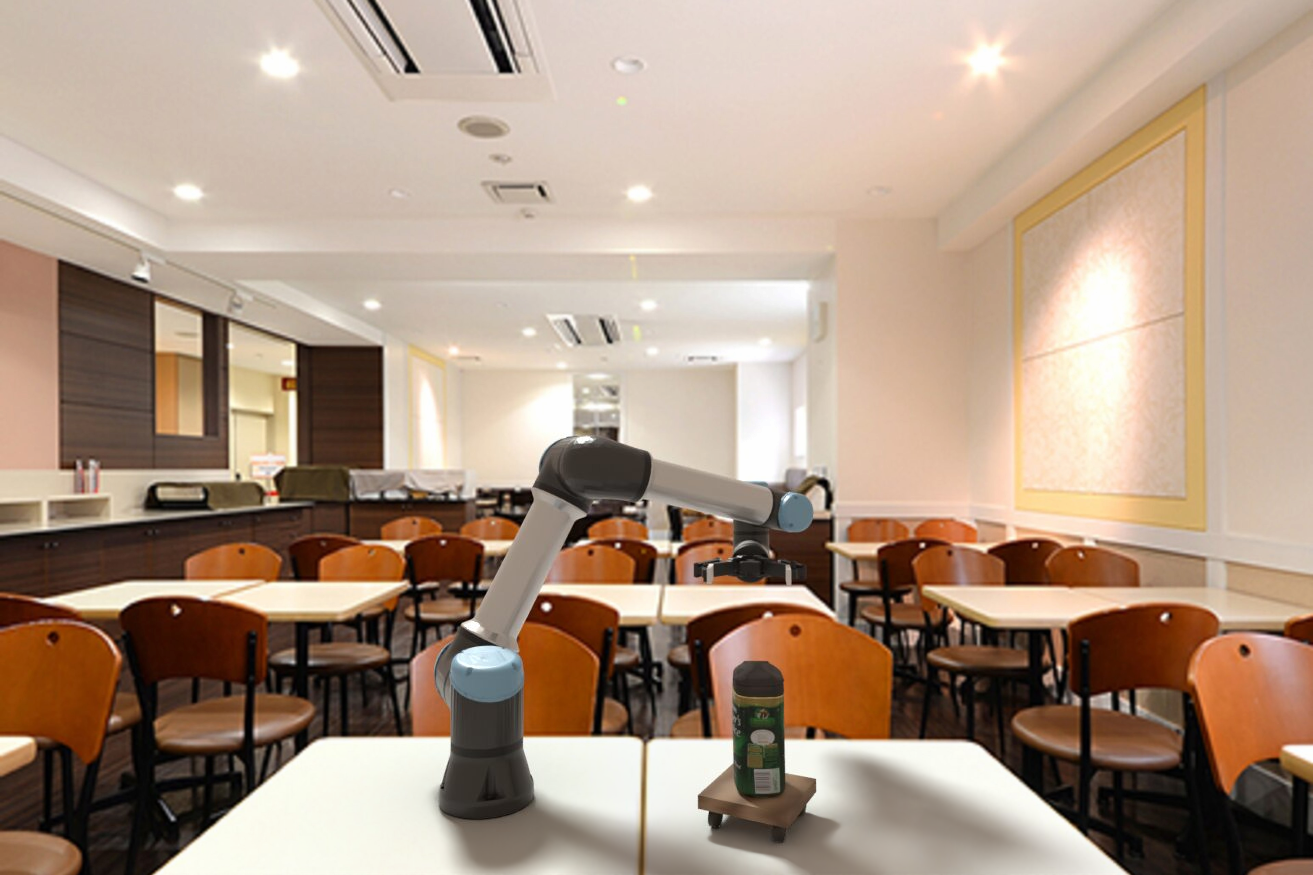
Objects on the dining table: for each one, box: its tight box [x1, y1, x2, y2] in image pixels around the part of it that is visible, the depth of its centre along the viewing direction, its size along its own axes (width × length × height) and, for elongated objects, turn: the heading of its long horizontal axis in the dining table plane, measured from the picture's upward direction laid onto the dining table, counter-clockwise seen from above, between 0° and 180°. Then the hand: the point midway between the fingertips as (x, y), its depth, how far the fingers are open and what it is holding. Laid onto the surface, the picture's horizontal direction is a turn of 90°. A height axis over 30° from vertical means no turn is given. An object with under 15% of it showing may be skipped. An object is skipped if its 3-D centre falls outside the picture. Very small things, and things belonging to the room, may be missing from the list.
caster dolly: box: [697, 763, 817, 843], centre depth 121 cm, size 14×14×5 cm
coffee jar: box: [731, 660, 786, 797], centre depth 122 cm, size 10×8×19 cm
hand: (748, 577), depth 135 cm, fingers open, 13 cm apart
